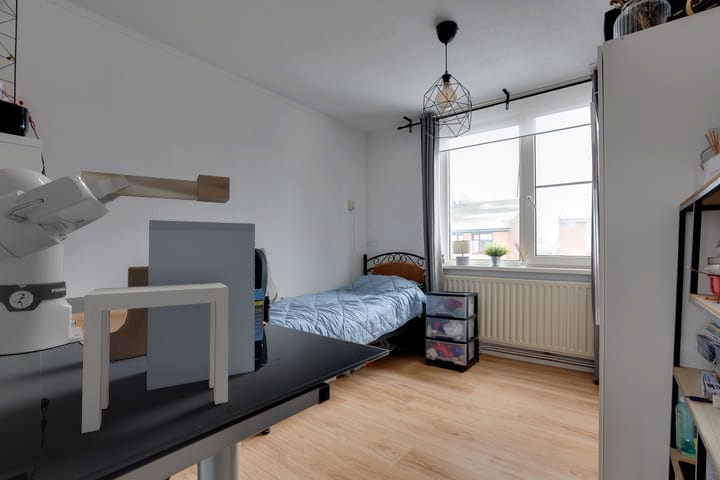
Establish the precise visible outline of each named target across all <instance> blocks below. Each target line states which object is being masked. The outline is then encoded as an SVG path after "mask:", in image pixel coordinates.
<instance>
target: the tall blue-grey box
mask: <svg viewBox="0 0 720 480" xmlns="http://www.w3.org/2000/svg"><path fill="white" fill-rule="evenodd" d="M148 228H149V229H148V266H149V274H148V286H164V285H184V284H205V283H222V284H224V285H226V286H227V287H229V296H228V377H229V376H235V375H240V374H246V373H252V372H255V342H254V323H255V290H256V289H255V288H256V287H255V284H256V282H255V280H256V275H255V272H256V271H255V270H256V264H255V263H256V261H255V260H256V257H255V256H256V248H255V247H256V241H255V240H256V224H255V223H250V222H249V223H245V222H243V223H242V222H218V221H215V222H214V221H193V220H192V221H189V220H188V221H187V220H161V219H160V220H159V219H149V220H148ZM209 308H210V303H200V304H186V305H173V306H160V307H148V342H147V355H146V357H147V359H146V361H147V362H146V391H151V390H157V389H161V388H167V387H172V386H179V385H183V384H190V383H196V382H201V381H207V380H209Z"/></svg>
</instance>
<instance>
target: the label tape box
mask: <svg viewBox="0 0 720 480" xmlns="http://www.w3.org/2000/svg"><path fill="white" fill-rule="evenodd" d="M264 296H265V295H264V288H258V289H257V288H256V289H255V323H254V343H255V342H258V341H263V340H264V306H265V304H264V302H265V299H264V298H265V297H264Z"/></svg>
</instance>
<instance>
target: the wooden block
mask: <svg viewBox="0 0 720 480" xmlns="http://www.w3.org/2000/svg"><path fill="white" fill-rule="evenodd" d="M148 274H149V265H147V266H143V265H141V266H129V267H128V268H127V287H143V286H148ZM126 310H127V314H126V317H125V321H124V323H123V324H122V325H121V326H120V327H119V328H118V329H117V330H115V331H112V332H111V331H110V355H109V363H110V362H115V361H119V360H125V359H130V358H135V357H136V358H137V357H141V356H145V355H146V356H147V342H148V307H147V308H133V309H126Z"/></svg>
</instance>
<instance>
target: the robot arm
mask: <svg viewBox="0 0 720 480" xmlns="http://www.w3.org/2000/svg"><path fill="white" fill-rule="evenodd" d="M128 187H129V183H128V181H127V180H126V178H125V177H124V176H118V177H115V178H113V179H108V180H103V181H98V182H95V183H92V184H87V183H86V182H85V181H84V180H83V179H82V178H81V176H80V175H78V174H70V175H65V176H63V177H60V178H57V179H54V180H52V179H51V178H49V177H47V176H46V175H44V174H43V173H41V172H39V171H35V170H34V169H30V168H29V169H28V168H23V167H5V168H1V169H0V355H11V354H20V353H28V352H29V353H30V352H33V351H34V352H35V351H40V350H46V349H50V348H51V349H52V348H55V347H58V346H63V345H66V344H70V343H76V342H81V341H84V333H83V330H82V327H81V326H76V325H77V321H76V320H74V319H73V320H72V315H73V314H72V312H73V311H72V309H73V307H72V305H71V304H70V303H69V302H68V301H67V299H66V296H67V284H66V283H67V281H64V274H65V273H64V272H65V270H64V269H65V268H64V267H65V266H64V265H65V246H64V243H63V241H65V240H67V239H68V234H71V233H73V232H75V231H78V230H80V229H82V228H83V227H85V226H87V225H89V224H92V223H93V222H96V221H98V220H99V219H101V218H103V217H105V216H106V215H108V214H109V213H110V212H111V209H110V206H109V205H108V204H109V203H112V202H114V201H115V200H117V199H118V198H121V196H116V195H108V194H110V193H113V192H116V191H120V190H123V189H125V188H128Z"/></svg>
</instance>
